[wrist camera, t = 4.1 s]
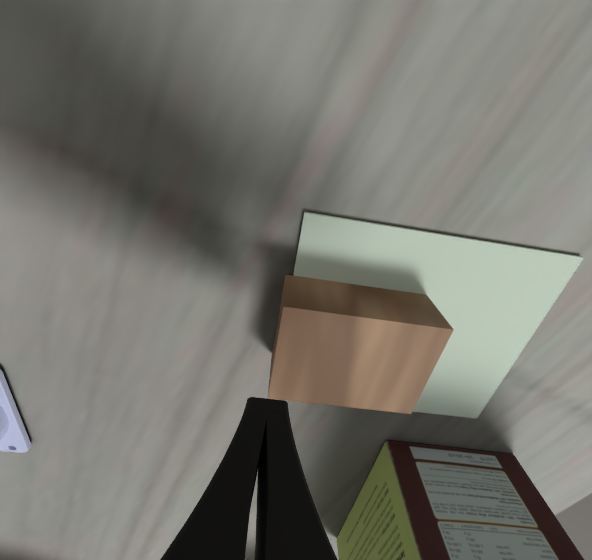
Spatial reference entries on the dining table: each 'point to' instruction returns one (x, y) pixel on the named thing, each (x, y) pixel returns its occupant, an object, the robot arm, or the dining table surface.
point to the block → (354, 345)
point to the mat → (446, 295)
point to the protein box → (450, 509)
